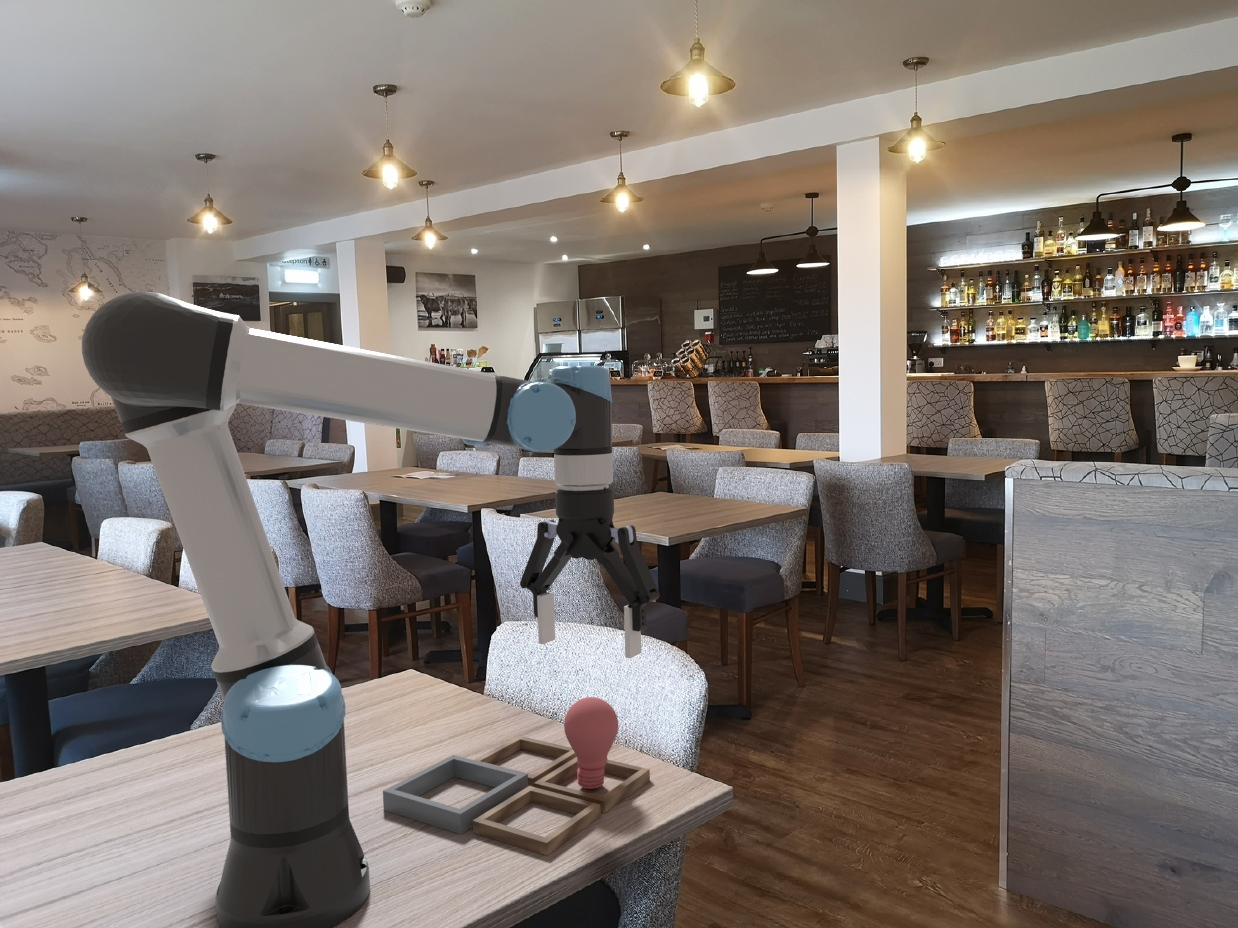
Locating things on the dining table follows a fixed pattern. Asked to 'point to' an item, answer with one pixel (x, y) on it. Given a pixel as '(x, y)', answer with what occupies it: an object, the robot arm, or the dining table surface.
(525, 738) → the frame
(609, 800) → the frame
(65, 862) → the dining table surface
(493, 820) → the frame
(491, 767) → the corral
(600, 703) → the light bulb
